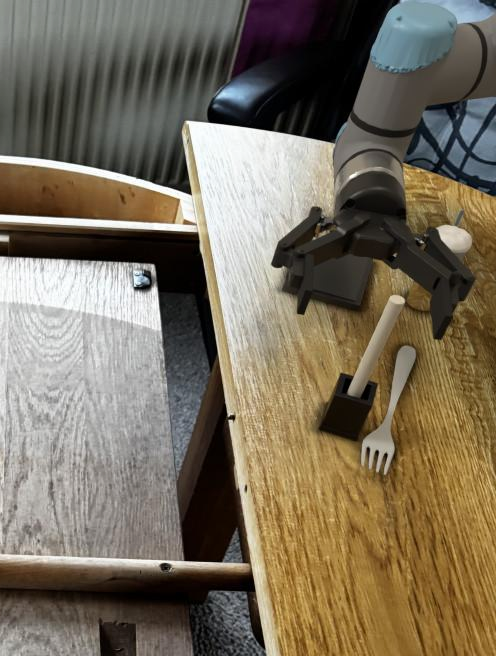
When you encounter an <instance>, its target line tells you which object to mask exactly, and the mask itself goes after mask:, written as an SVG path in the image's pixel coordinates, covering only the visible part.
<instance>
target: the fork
mask: <svg viewBox="0 0 496 656" xmlns="http://www.w3.org/2000/svg"><path fill="white" fill-rule="evenodd" d="M416 358H417V352H416V349H415V348H414V347H413V346H410V345H403V346H401V347H400V348H399V350H398V351H397V353H396V359H395V365H394V371H393V377H392V384H391V391H390V399H389V404H388V408H387V412H386V415H385V417H384V419H383V421H382V423H381V424H380V426H378V427H377V428H376V429H375V430H373V431H372V432H370V433H369V434H367V435H366V436H365V437H364V438H363V441H362V444H361V456H360V457H361V459H360V461H361V467H362V468H363V467H364V466H365V463H366V455H367V449H369V458H368V470H371V469H372V468H373V463H374V459H375V454H376V451H377V452H378V456H377V462H376V469H375V471H376V473H379V472H380V469H381V467H382V463H383V458H384V456H385V454H386V455H387V458H386V462H385V464H384V468H383V475H384V476H387V473H388V471H389V468H390V465H391V464H392V460H393V457H394V454H395V450H396V449H395V448H396V447H395V443H394V440H393V436H392V432H391V431H392V430H391V427H392V421H393V417H394V414H395V410H396V407H397V404H398V401H399V398H400V396H401V394H402V391H403V390H404V387H405V385H406V383H407V380H408V378H409V375H410V373H411V371H412V368H413V366H414V364H415V361H416Z"/></svg>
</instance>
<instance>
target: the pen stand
mask: <svg viewBox="0 0 496 656" xmlns="http://www.w3.org/2000/svg"><path fill="white" fill-rule="evenodd" d="M354 376H355V375H352V374H348V373H345V372H340V374H339V376H338V378H337V381H336V383H335V385H334V387H333V389H332V392H331V394H330V397H329V399H328V401H326V403H325V405H324V408H323V412H322V415H321V419H320V421H319V425H318V430H320V431H323V432H325V433H328V434H332V435H335V436H338V437H342V438H345V439H348V440H352V441H355V442H357V441H358V440H359V437H360V433H361V431H362V429H363V426H364V425H365V422H366V421H367V418H368V417H369V414H370V413H371V411H372V408H373V406H374V402H375V398H376V397H375V396H376V394H377V390H378V385H379V383H378V382H376V381H372V380H370V379H369V380H368V382H367V385H366V387H365V389H364V391H363V393H362V395H361V397H360V398H357V397H354V396H351V395H347V391H348V389H349V387H350V385H351V382H352V380H353V378H354Z"/></svg>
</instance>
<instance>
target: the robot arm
mask: <svg viewBox="0 0 496 656" xmlns="http://www.w3.org/2000/svg"><path fill="white" fill-rule="evenodd" d="M486 98H496V12H494V13H493V14H491V15H490V16H489V17H487V18H485V19H483V20H478V21H471V22H460V23H458V19H457V17H456V15H455V14H454V13H453V12H452V11H450V10H449V9H448V8H445V7H444V6H441V5H439V4H437V3H433V2H428V1H425V2H422V1H421V2H420V1H417V0H408V1H403V2H400V3H397V4H396V5H394V6H393V7H391V8H390V9H389V11H388V12H387V14H386V16H385V17H384V20H383V22H382V25H381V27H380V28H379V31H378V33H377V37H376V39H375V41H374V43H373V44H372V47H371V50H370V54H369V59H368V62H367V65H366V68H365V72H364V74H363V77H362V80H361V83H360V85H359V89H358V92H357V95H356V98H355V101H354V104H353V106H352V109H351V112H350V113H349V116H348V118H347V121H346V122H344V123H343V124H342V126H341V127H340V129H339V131H338V133H337V135H336V138H335V142H334V147H333V150H332V155H331V159H332V167H333V217H330V216H326V215H325V214H323V209H322V208H321V207H320V206H317V205H314V206H313V205H312V206H311V208H310V210H309V213H308V216H307V217H306V218H304V219H303V220H302V221H301V222H300V223H298V224H297V225H296V226H295V227H294V228H293V229H291V230H290V231H289V232H288V233H286V235H284V236H283V237H282V238H280V239H279V240H278V241H277V243H276V247H275V250H274V253H273V256H272V259H271V261H270V262H271V263H270V265H271V267H273V268H276V269H281V268H283V267H284V268H286V269H287V272H286V275H285V280H286V279H287V280H288V284H289V286H290V287H292V288H298V293H297V298H296V315H301V316H305V314H306V312H307V308H308V306H309V304H310V300H311V295H312V293H313V272H314V267H315V266H317V265H319V264H321V263H323V262H326V261H328V260H330V259H332V258H335V259H340V258H342V257H344V256H346V255H348V254H353V256H358V257H369V258H372V259H373V260H375V261H381V262H382V263H384V264H385V265H386V266H388V267H389V268H390V269H392V270H393V271H395V270H399V271H401V272H402V273H404V274H405V275H406V276H408V277H409V278H410V279H411V280H412V281H413V282H414V281H415V282H416V283H418V284H419V285H420V286H421V287H423V288H424V289H425V290H426V291H428V292H429V293H430V294H431V295H432V297H431V299H430V310H429V311H430V319H431V320H430V321H431V329H432V337H433V338H432V339H433V340H436V341H442V340H443V338H444V336H445V334H446V332H447V330H448V329H449V326H450V324H451V322H452V320H453V319H454V313H455V311H456V309H457V307H458V306H459V303H462V302H465V301H466V299H467V298H468V296H469V294H470V292H471V290H472V288H473V287H474V284H475V282H476V281H477V277H476V276H475V275H474V273H473V272H471V270H469V268H468V267H467V266H466V265H465V264H464V262H463V261H460V260H459V258H458V257H457V256H456V255H455V254H454V253H453V252H452V251H451V250H450V249H449V247H448V246H447V245H446V244H445V243H444V242H443V241H442V240H441V238H440V234H439V231H438V230H437V229H436V228H437V227H434V226H428V227H426V229H425V231H424V233H422V232H413V229H412V228H411V227H410V226H409V225H408V224H407V223H408V221H407V220H408V207H407V198H406V195H407V194H406V186H405V174H404V160H405V157H406V155H407V152H408V149H409V147H410V146H411V145H410V144H411V142H412V140H413V137H414V135H415V132H416V131H417V129H418V126H419V123H420V121H421V119H422V117H423V114H424V113H425V110H426V108H427V107H428V106H435V105H441V104H448V103H457V102H464V101H471V100H472V101H473V100H479V99H486ZM325 231H328V233H326V234H323V235H321V236H320V234H322V233H324V232H325ZM314 238H315V239H314Z"/></svg>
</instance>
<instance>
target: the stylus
mask: <svg viewBox="0 0 496 656" xmlns="http://www.w3.org/2000/svg"><path fill="white" fill-rule="evenodd" d="M405 303H406V299H405V298H404V297H403V296H401V295H398V294H393V295H390V296H389V298H388V300H387V303H386V305H385V307H384V309H383V312H382V313H381V316H380V318H379V321H378V323H377V325H376V327H375V329H374V332H373V334H372V336H371V338H370V340H369V343H368V344H367V347H366V349H365V352H364V354H363V356H362V359H361V360H360V363H359V365H358V367H357V369H356V372H355V374H354V375H353V376H354V378H353V380H352V382H351V385H350V387H349V389H348V391H347V395H351V396H354V397H357V398H360V397H361V395H362V393H363V391H364V389H365V387H366V385H367V382H368V380H369V381H370V378H371V376H372V374H373V372H374V370H375V367H376V365H377V363H378V361H379V359H380V357H381V355H382V353H383V350H384V348H385V346H386V344H387V342H388V339H389V338H390V335H391V334H392V331H393V329H394V327H395V325H396V323H397V320H398V318H399V316H400V314H401V312H402V310H403V307H404V305H405Z"/></svg>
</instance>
